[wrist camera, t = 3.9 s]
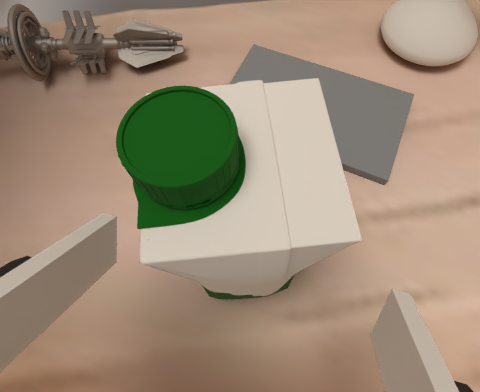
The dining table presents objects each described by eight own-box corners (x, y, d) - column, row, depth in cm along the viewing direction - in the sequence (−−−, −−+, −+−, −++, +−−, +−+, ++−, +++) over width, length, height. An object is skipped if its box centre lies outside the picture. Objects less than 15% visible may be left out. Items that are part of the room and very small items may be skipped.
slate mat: (211, 120, 34) (210, 114, 33) (253, 51, 38) (253, 44, 38) (383, 184, 31) (388, 180, 30) (409, 100, 35) (414, 94, 34)
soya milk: (195, 215, 30) (112, 42, 11) (285, 206, 30) (346, 21, 12) (199, 308, 26) (90, 276, 8) (301, 297, 26) (424, 241, 8)
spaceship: (-148, -5, 32) (-218, 14, 27) (179, -3, 36) (179, 14, 31) (-94, 69, 38) (-142, 98, 32) (185, 63, 42) (186, 88, 36)
